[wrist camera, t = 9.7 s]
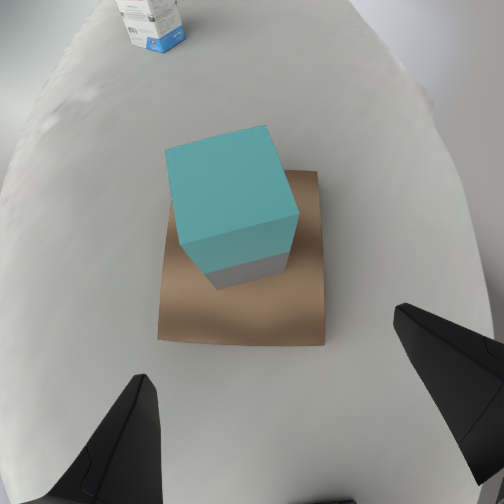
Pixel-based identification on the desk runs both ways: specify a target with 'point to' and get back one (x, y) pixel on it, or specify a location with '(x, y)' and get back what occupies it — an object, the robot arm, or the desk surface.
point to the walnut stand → (251, 289)
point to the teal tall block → (233, 206)
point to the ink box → (152, 23)
